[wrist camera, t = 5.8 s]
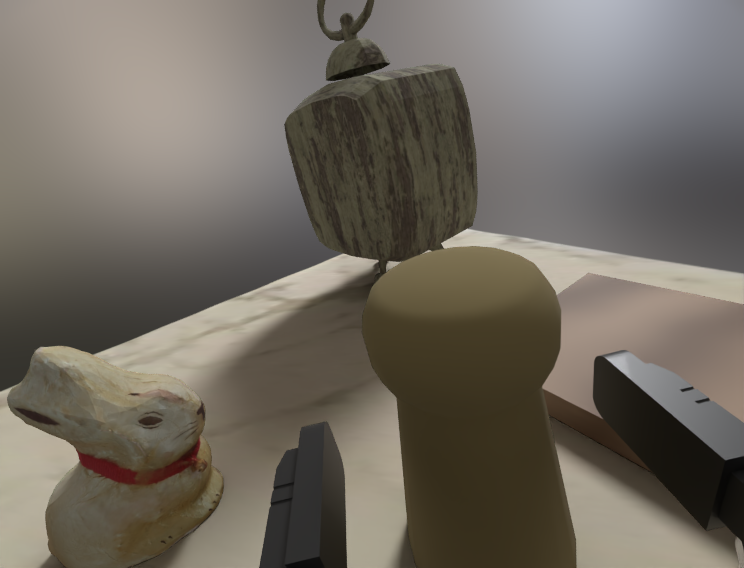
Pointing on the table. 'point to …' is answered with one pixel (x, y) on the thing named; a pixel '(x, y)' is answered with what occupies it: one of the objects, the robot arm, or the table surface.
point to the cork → (473, 406)
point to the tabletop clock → (383, 152)
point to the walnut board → (643, 347)
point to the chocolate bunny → (119, 458)
